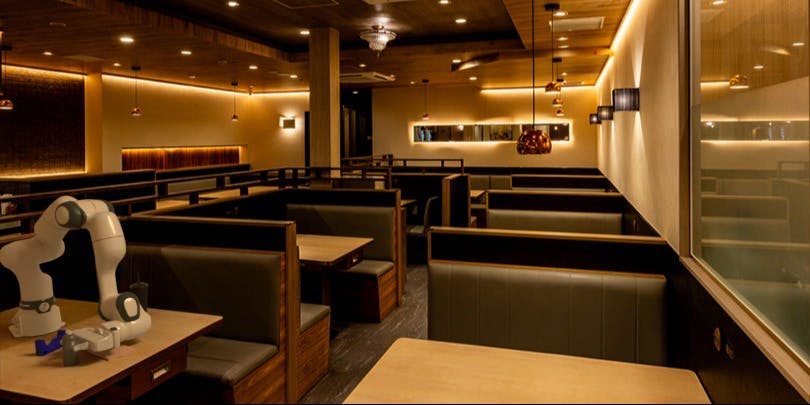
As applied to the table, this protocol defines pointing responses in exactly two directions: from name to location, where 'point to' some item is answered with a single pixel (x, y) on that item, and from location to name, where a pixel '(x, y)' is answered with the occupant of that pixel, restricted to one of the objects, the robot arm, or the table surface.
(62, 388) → the table surface
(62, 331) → the blue u-shaped bracket
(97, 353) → the board
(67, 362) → the charger plug
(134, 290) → the drinking cup
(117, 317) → the robot arm
